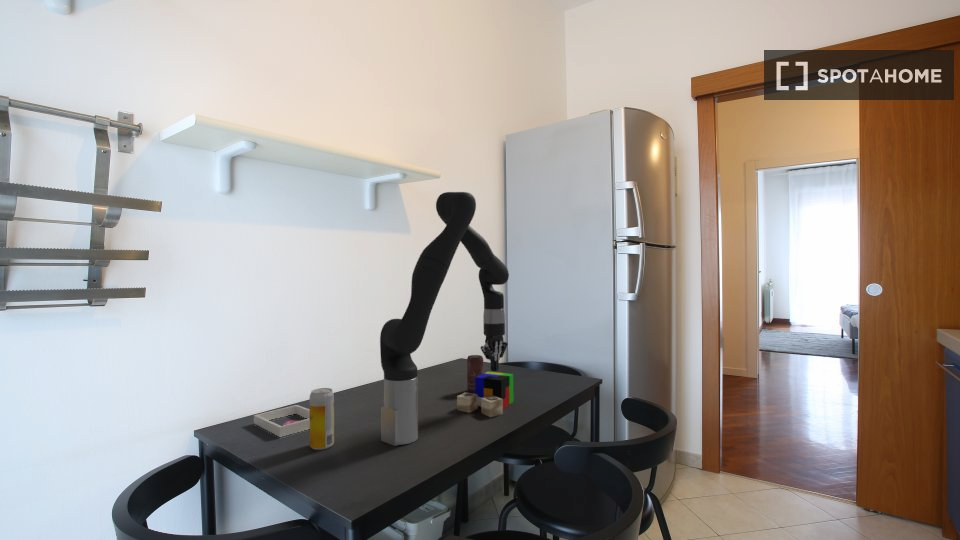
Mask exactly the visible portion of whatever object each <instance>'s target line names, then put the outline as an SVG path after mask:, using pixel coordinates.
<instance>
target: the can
mask: <svg viewBox="0 0 960 540" xmlns="http://www.w3.org/2000/svg"><path fill="white" fill-rule="evenodd" d="M481 374H484V358H483V355H480V354H479V355H478V354H471V355H468V356H467V359H466V380H467V381H466V383H467V384H466V385H467V387H466V391H467V393H471V394H475V377H477V376H479V375H481Z"/></svg>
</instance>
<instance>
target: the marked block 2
mask: <svg viewBox="0 0 960 540" xmlns="http://www.w3.org/2000/svg"><path fill="white" fill-rule="evenodd" d="M480 407H481V409H480V410H481V411H480V412H481V414H483V415H485V416H487V417H489V418H494V417H498V416H501V415H502V416H503V414H504V408H503V399H501V398H498V397H495V396H490V397H485V398H481V406H480Z"/></svg>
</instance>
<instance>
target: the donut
mask: <svg viewBox="0 0 960 540" xmlns="http://www.w3.org/2000/svg"><path fill="white" fill-rule="evenodd" d="M298 421H299V420H287V421H285V422H284V423H283V424H282V425H287V424H290V423H294V422H298Z"/></svg>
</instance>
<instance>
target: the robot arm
mask: <svg viewBox="0 0 960 540" xmlns="http://www.w3.org/2000/svg"><path fill="white" fill-rule="evenodd" d="M435 209H436V212H437V215H438V217H439V219H441V220H442V222H443V223H444V224H445V225H446V226H445V227H444V229H443V230H442V231H441V232H440V234H439V235H437V236H436V237H435V238H434V239H433V240H432V241H431V242H429V244H428V245H426V247H425V248H424V249H423V250H422V251H421V253H420V255H419V257H418V259H417V261H416V264H415V266H414V268H413V272H412V276H411V288H410V289H411V290H410V291H411V293H410V299H409V302H408V306H407V308H406V310H405V312H404V314H403V315H402V317H401V318H391V319H390V320H388V321H386V322H385V323H384V324H383V326H382V329H381V330H380V335H379V348H380V349H379V350H380V352H379V353H380V365H381V368H382V371H383V405H382V406H381V407H380V428H381V429H380V434H381V435H380V439H381V442H384V443H386V444H388V445H391V446H393V447H397V446H400V445H408V444H411V443H414V442H416V441H417V440H418V439H419V435H418V434H419V416H418V415H419V410H418V409H419V408H418V407H419V405H418V404H419V403H418V402H419V401H418V396H419V395H418V393H419V392H418V390H419V388H418V387H419V385H418V384H419V383H418V381H419V380H418V378H419V377H418V376H419V375H418V372H419V371H418V367H417V365H416V363H415V362H414V361H413V358H412V355H411V354H413V353H414V352H416V351H417V349H418V348H419V347H420V345H421V344H422V341H423V339H424V336H425V333H426V330H427V326H428V322H429V320H430V316H431V313H432V310H433V307H434V306H435V303H436V300H437V297H438V295H439V292H440V290H441V288H442V285H443V283H444V282H445V278H446V276H447V273H448V271H449V269H450V267H451V264H452V261H453V259H454V256H455V254H456V252H457V250H458V248H459V246H460V243H461V244H462V245H463V246H464V248H465V249H466V251H467V252H468V255H470V257H471V259H472V260H473V262H474V264H475V265H476V267H478V268H479V271H478V281H479V284H480V287H481V290H482V291H481V292H482V295H483V317H482V318H483V335H484V336H485V340H484V345H481V346H480V351H481V352H482V354H483V355H484V358H486V360H489V361H490V372H499V367H500V366H499V365H500V362H499V361H500V359H501V358H503V357H504V355H505V352H506V350H507V348H508V342H507V341H504V336H505V335H506V317H505V316H506V314H505V298H504V296H505V295H504V293H503V292H501V291H497V290H495V288H494V286H495V285H496V286H497V285H498V286H499V285H505V284H506V283H507V282H508V280H509V277H510V274H509V270H508V267H507V266H506V264H504V262H503V261H501V259H500V258H498V256H496V255H495V254H494V252H493V251H492V247H490V245H489V243H488V241H487V240H486V239H485V238H484V237H483V236H482V235H481V234H480V233H479V232H477V231H476V230H475V229H474V228H473V227H472V226H471V225H470V224H471V222H472V220H473V219H474V217H475V213H476V209H477V202H476V198H475V196H474V195H473V194H472V193H470V192H466V191H446V192H442V193H440V195H438V197H437V199H436V201H435Z"/></svg>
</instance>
